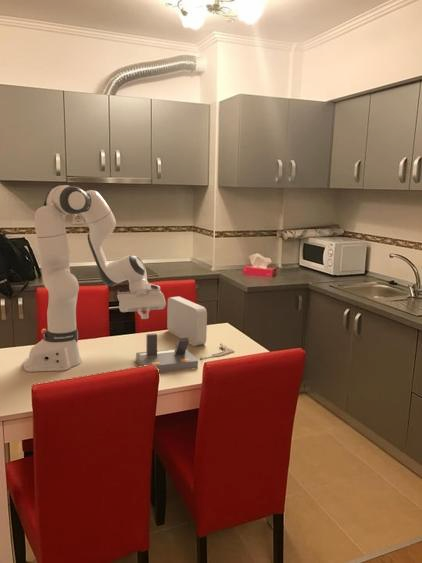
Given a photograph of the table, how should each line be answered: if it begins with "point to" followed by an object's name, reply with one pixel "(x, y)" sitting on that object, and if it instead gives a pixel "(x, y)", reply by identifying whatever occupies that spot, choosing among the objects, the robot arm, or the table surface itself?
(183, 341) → the lever
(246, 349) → the table surface
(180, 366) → the breaker panel
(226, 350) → the jawbone
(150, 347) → the lever
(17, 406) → the table surface
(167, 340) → the table surface
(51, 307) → the robot arm
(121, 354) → the table surface
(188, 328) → the light grey rounded box
